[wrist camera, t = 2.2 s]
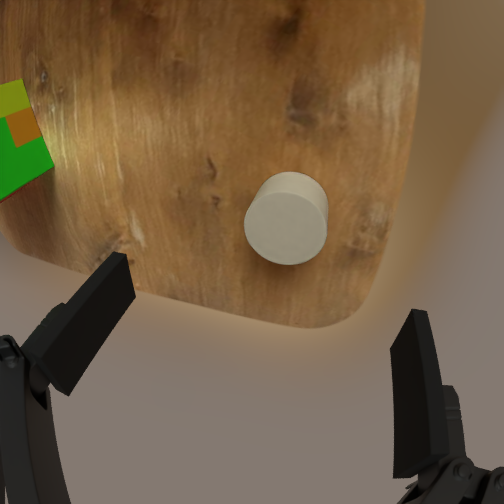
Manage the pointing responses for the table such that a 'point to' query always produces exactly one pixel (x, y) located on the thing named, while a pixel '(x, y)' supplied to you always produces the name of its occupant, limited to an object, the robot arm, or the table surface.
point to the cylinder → (288, 219)
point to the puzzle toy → (19, 141)
